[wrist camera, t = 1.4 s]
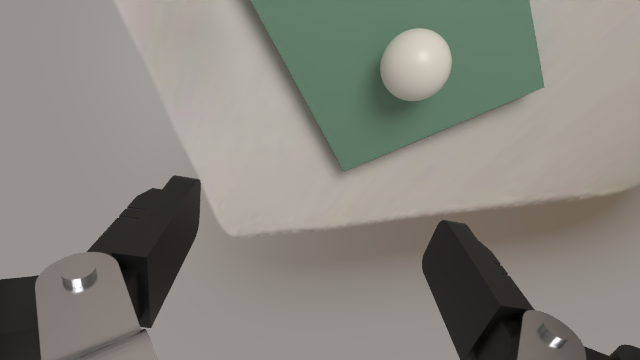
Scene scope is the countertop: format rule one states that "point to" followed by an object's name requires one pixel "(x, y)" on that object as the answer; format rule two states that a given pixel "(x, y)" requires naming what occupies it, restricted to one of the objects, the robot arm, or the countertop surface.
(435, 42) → the ball
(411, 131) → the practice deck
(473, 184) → the countertop surface
